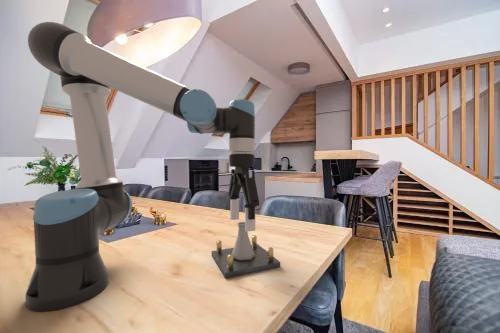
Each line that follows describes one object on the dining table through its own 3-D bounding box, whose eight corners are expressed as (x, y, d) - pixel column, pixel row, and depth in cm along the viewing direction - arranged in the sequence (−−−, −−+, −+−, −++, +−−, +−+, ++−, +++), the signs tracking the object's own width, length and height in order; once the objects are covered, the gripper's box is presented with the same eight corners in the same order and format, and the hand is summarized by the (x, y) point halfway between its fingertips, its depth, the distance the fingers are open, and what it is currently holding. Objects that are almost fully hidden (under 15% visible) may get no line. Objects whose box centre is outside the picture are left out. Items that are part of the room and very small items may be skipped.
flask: (253, 262, 65) (252, 226, 65) (228, 260, 66) (227, 225, 66) (257, 252, 72) (256, 220, 72) (234, 251, 73) (234, 219, 73)
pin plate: (225, 278, 59) (224, 259, 59) (211, 255, 74) (211, 240, 73) (280, 267, 65) (280, 249, 65) (257, 248, 79) (257, 233, 79)
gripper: (272, 152, 58) (272, 235, 59) (240, 155, 82) (239, 214, 82) (244, 151, 56) (244, 238, 56) (219, 154, 79) (219, 216, 79)
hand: (241, 224), depth 69 cm, fingers open, 13 cm apart
